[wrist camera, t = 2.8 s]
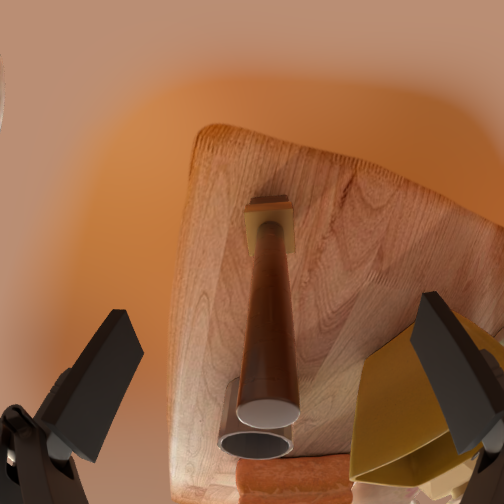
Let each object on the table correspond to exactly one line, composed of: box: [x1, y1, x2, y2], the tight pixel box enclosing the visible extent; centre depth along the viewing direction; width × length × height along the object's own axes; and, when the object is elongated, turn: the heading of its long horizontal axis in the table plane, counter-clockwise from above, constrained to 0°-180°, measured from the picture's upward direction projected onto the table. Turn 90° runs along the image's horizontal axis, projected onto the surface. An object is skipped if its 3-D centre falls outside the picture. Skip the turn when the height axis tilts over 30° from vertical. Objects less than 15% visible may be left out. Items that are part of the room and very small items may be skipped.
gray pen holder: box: [217, 377, 294, 460], centre depth 33 cm, size 9×9×9 cm
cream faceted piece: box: [417, 455, 479, 504], centre depth 27 cm, size 12×24×28 cm, turn 172°
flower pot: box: [349, 310, 504, 488], centre depth 25 cm, size 19×19×17 cm
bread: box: [236, 454, 354, 504], centre depth 43 cm, size 14×26×15 cm, turn 91°
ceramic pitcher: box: [351, 482, 420, 504], centre depth 41 cm, size 22×20×25 cm
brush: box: [236, 195, 300, 429], centre depth 17 cm, size 4×4×20 cm
